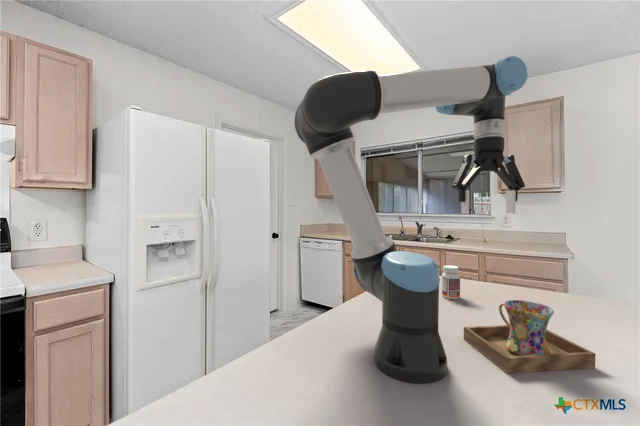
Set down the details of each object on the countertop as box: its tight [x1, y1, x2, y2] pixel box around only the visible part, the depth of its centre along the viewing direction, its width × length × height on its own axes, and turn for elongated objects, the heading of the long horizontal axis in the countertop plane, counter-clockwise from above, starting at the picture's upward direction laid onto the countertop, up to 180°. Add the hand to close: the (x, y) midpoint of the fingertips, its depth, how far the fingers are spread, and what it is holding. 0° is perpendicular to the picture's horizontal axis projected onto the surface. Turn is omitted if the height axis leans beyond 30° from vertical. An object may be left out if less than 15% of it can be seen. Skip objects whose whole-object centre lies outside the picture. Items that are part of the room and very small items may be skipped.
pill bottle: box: [441, 264, 461, 300], centre depth 110 cm, size 6×6×11 cm
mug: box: [498, 299, 554, 356], centre depth 69 cm, size 12×9×11 cm
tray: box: [463, 324, 596, 374], centre depth 69 cm, size 20×16×3 cm
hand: (487, 213), depth 85 cm, fingers open, 13 cm apart
